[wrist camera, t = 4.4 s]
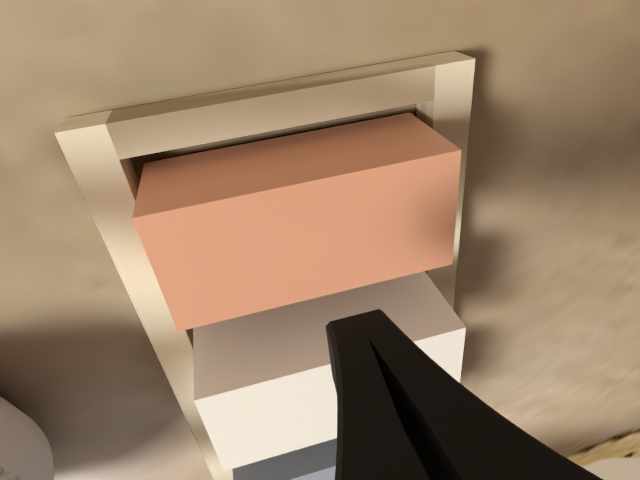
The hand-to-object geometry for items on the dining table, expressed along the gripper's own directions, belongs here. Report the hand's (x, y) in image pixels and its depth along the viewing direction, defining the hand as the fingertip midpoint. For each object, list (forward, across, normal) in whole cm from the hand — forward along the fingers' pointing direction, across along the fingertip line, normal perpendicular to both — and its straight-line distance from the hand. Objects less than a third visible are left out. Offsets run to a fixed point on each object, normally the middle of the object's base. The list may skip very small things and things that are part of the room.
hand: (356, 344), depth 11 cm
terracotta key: (+9, 0, 0) cm, 9 cm away
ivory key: (+7, 0, +6) cm, 10 cm away
